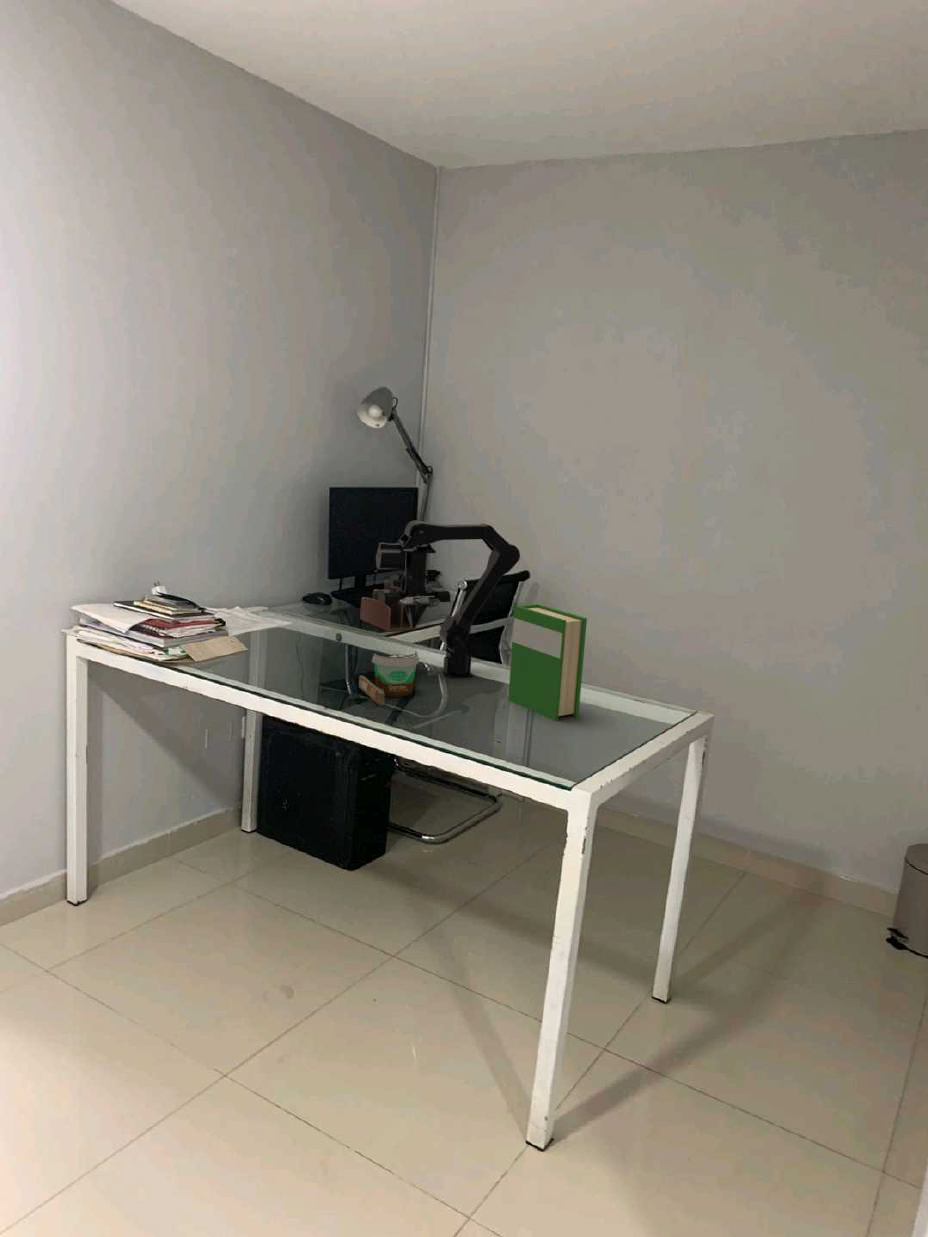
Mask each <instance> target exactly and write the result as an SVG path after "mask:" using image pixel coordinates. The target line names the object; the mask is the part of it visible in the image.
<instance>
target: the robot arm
mask: <svg viewBox="0 0 928 1237" xmlns="http://www.w3.org/2000/svg"><path fill="white" fill-rule="evenodd" d="M458 540H461V541H462V540H464V541H465V540H469V541H470V540H482V542H483V543H484V544H485V545H486V546H487V548H488V549H489V550H490V554H489V556H488V559H487V560H488V561H487V564H486V568H485V570H484V571H483V574H482V575H481V576H480V578H479V580H477V583H476V584H475V585H474V587H473V589H472V590H471V592H470V593H469V595H468V596H467V598H466V600H465V601H464V603H463V604H462V606H461V607H460V609H459V611H457V612H456V613H455V614H454V615H453V616H452V615H450V614H447V615H446V617H445V619H444V621H443V622H442V624H440V625H439V627H440V630H439V633H438V634H439V638H440V640H441V642H442V643H443V644H445V648H446V649H448V650H446V651H445V656H444V657H443V669H442V672H443V673H444V674H446V675H447V676H449V677H450V678H459V677H460V678H462V677H472V676H473V677H474V673H472V671H471V668H472V666H471V665H472V655H473V653H474V650H475V648H474V646H473V645H472V644H471V643H470V642H469V641H468V638H469V635H470V633H471V629H472V624H473V621H474V620H475V618H476V617H477V615H478V613H479V612H480V610H481V609H482V607H483V606H484V604H485V603H486V601H487V599H488V598H489V597H490V595H491V593H492V591H493V590H494V589H495V588H496V586H497V584H498V582H499V581H500V579H501V578H502V577H504V576H505V575H506V574H507V573H509V572H510V571H511V570H512V569H513V568H514V567H515V566H516V565H517V564H518V562H519V561H520V558H521V554H520V550H519V548H518V547H517V546H516V545H514V544H511V543H509V542H508V541H507V540H506V539H505V538H504V537H503V536H502V535H500V534H499V533H498V532H497V531H496V530H495V529H494V527H493V526H492V525H490V524H487V523H485V522H483V523H479V524H477V523H476V524H439V523H437V524H436V523H432V522H427V521H421V520H412V521H409V522H408V523H407V525H406V526H405V528H404V533H403V534H402V535H401V536H400V538H399V539H398V540H397V542H395V543H386V542H379V543H378V548H377V550H376V551H377V552H376V554H375V564H376V569H377V570H401V568H403V567H404V566H405V567H404V571H402V577H399V575H398V574H396V575H394V574H393V575H389V581H390V587H391V588H396V590H397V591H395V590H393V589H387V590H384V589H379V590H380V591H379V593H378V600H379V601H381V602H383V603H385V604H397V603H400V604H402V605H403V606H404V608H405V610H406V612H407V615H408V619H409V622H410V626H411V628H415V629H416V627H417V625H418V623H419V622H420V620H421V617H422V615H423V614H424V613H425V611H426V610H427V608H428V606H429V607H430V606H431V605H432V604H431V603H430V602H429V601H430V600H433V599H434V600H435V599H437V600H438V601H439V603H449V602H451V600H452V598H451V597H452V594H451V592H450V591H449V590H447V589H445V588H443V587H436V588H435V587H434V588H431V587H430V589H429V590H428V589H427V580H428V579H429V576H430V575H429V574H428V556H429V555H428V554H436V550H435V549H434V548H433V547H432V544H433V543H436V542H439V541H458ZM401 591H404V593H399V592H401ZM414 599H415V600H414Z"/></svg>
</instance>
